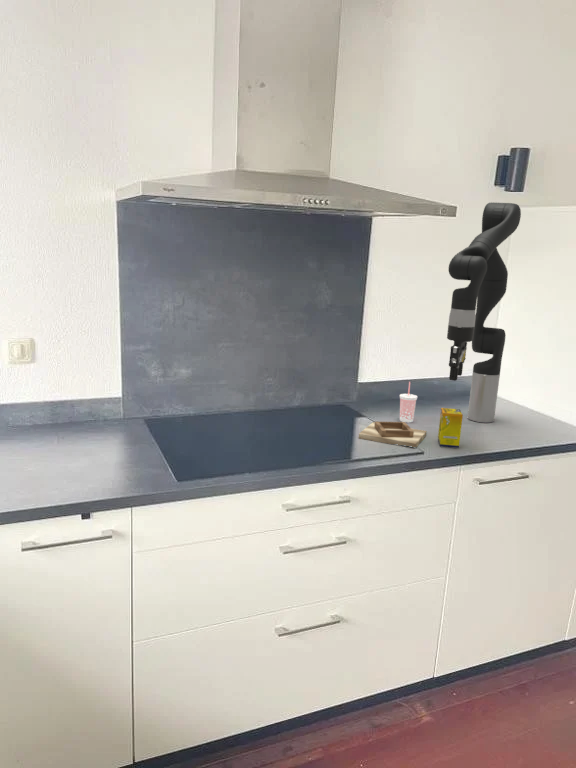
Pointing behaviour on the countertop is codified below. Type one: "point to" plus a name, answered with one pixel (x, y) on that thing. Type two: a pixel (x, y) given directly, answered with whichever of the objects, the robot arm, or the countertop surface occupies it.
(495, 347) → the robot arm
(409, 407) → the beverage cup
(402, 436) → the socket board
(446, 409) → the supplement box
